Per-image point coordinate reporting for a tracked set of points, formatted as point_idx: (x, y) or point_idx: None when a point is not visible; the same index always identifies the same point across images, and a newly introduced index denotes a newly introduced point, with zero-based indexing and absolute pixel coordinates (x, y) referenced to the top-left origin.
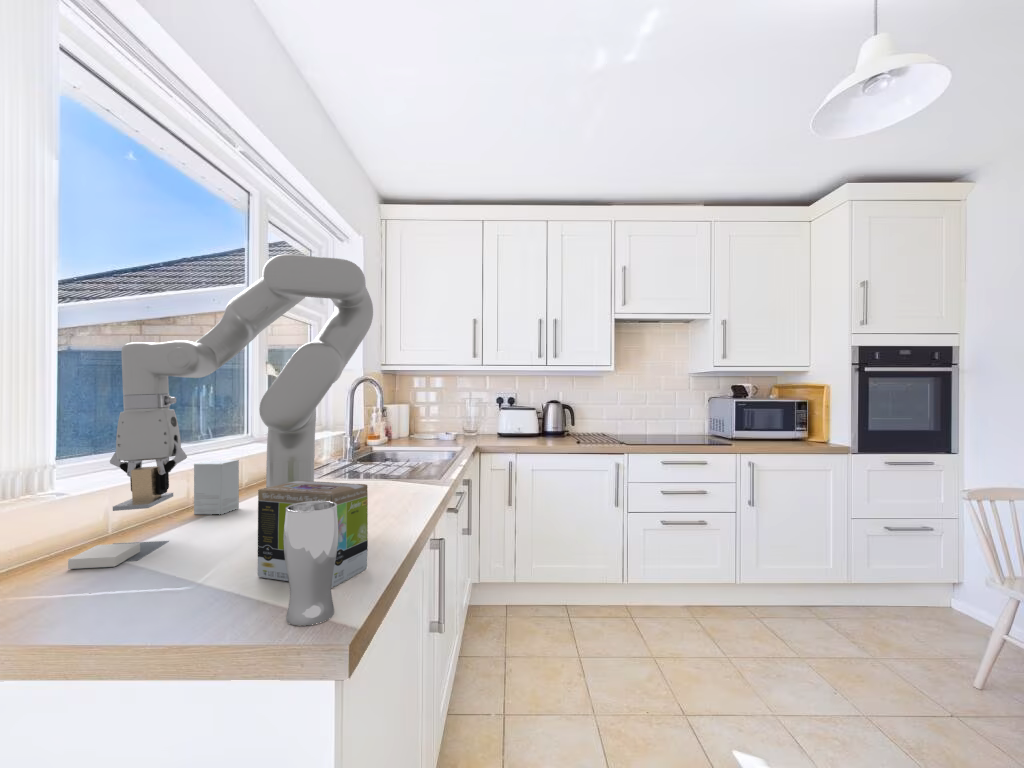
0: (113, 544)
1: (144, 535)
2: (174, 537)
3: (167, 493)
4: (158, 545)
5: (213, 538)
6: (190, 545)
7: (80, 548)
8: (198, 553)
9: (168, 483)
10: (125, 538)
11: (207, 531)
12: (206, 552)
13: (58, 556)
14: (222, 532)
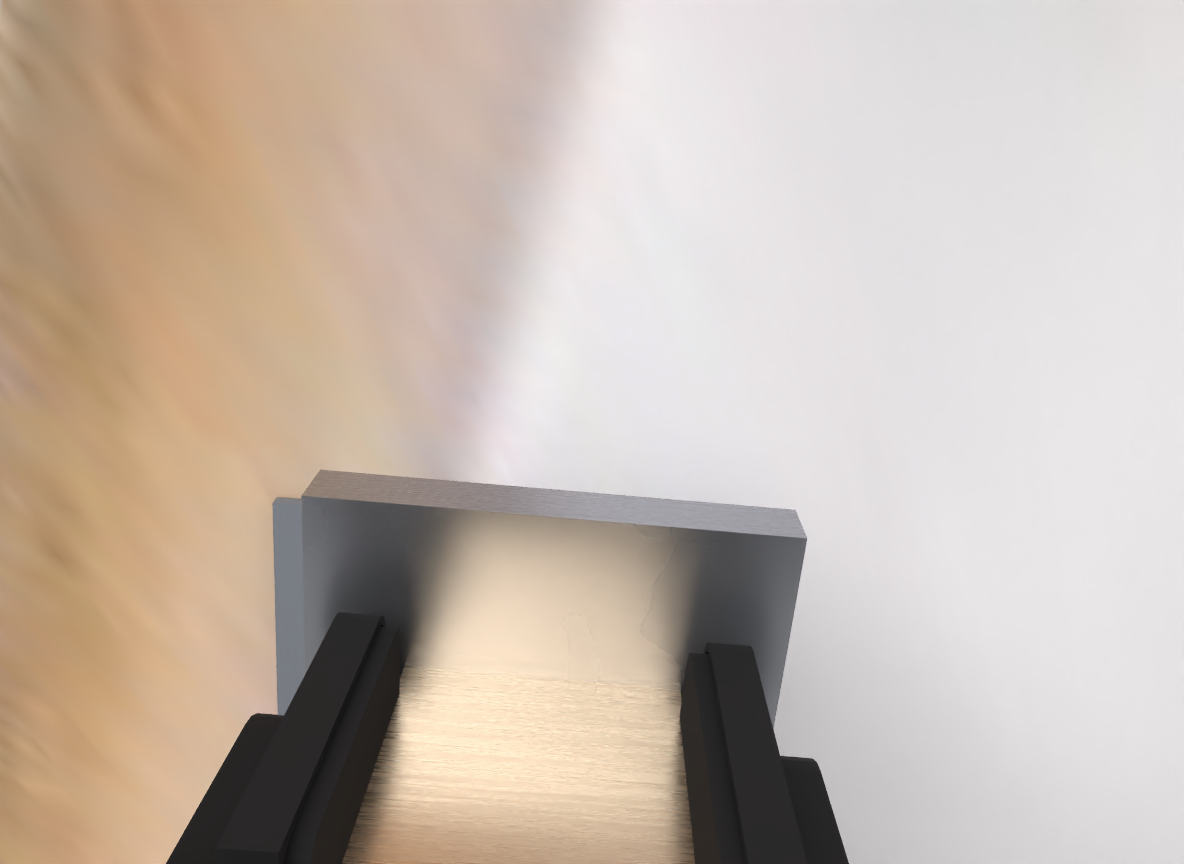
0: None
1: (398, 210)
2: (724, 365)
3: (733, 582)
4: None
5: (1078, 486)
6: (925, 649)
7: (46, 534)
8: (1019, 847)
9: (825, 812)
10: (261, 286)
11: (991, 206)
12: (1070, 837)
13: (25, 711)
14: (1140, 288)
